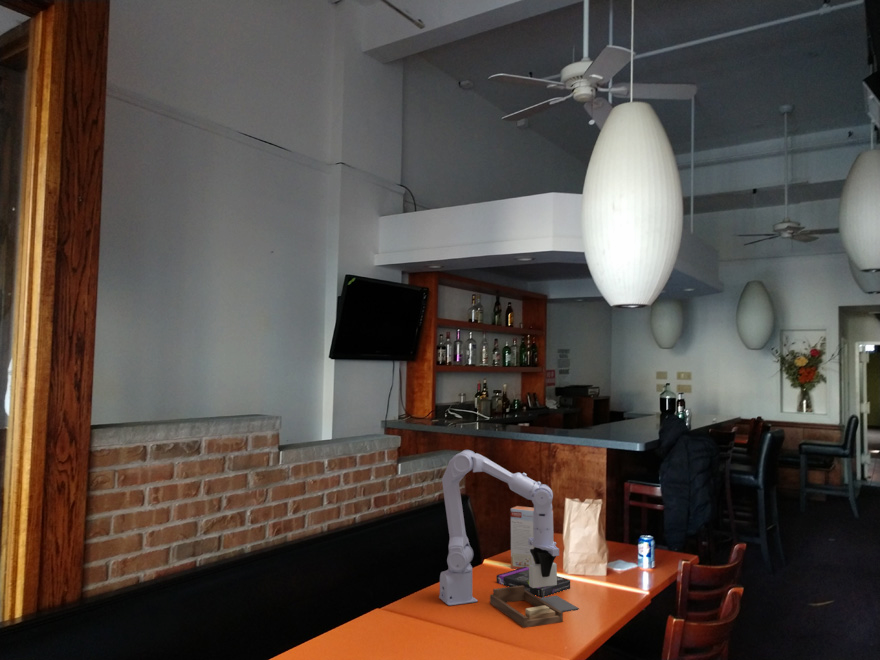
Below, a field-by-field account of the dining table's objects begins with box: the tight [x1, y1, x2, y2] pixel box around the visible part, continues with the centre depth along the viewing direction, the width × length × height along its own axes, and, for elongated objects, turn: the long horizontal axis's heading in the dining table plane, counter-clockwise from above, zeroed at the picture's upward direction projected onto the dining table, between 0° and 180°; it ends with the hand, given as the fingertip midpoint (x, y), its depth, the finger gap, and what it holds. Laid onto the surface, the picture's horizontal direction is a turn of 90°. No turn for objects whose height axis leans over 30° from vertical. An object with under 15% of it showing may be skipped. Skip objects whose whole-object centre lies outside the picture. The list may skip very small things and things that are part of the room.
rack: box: [489, 585, 564, 628], centre depth 191 cm, size 12×20×4 cm, turn 22°
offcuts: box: [524, 605, 555, 620], centre depth 183 cm, size 9×3×4 cm, turn 112°
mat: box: [539, 595, 580, 613], centre depth 197 cm, size 9×12×1 cm
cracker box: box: [510, 505, 555, 570], centre depth 233 cm, size 14×6×21 cm, turn 58°
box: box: [496, 567, 571, 598], centre depth 215 cm, size 14×4×20 cm
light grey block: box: [529, 561, 558, 588], centre depth 195 cm, size 8×2×6 cm, turn 111°
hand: (543, 575), depth 195 cm, fingers closed on light grey block, 2 cm apart
